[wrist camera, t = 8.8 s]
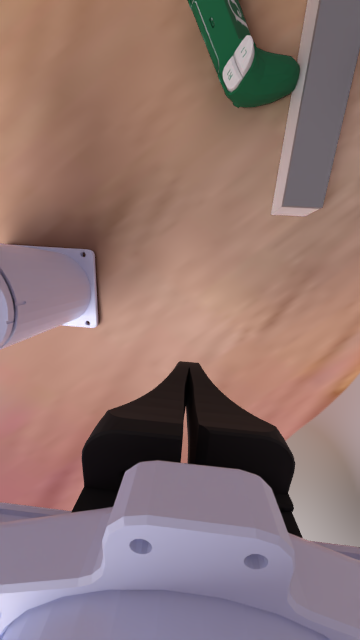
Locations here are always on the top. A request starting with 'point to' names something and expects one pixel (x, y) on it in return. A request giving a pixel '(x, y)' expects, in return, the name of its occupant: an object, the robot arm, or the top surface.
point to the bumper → (317, 105)
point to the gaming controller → (242, 56)
